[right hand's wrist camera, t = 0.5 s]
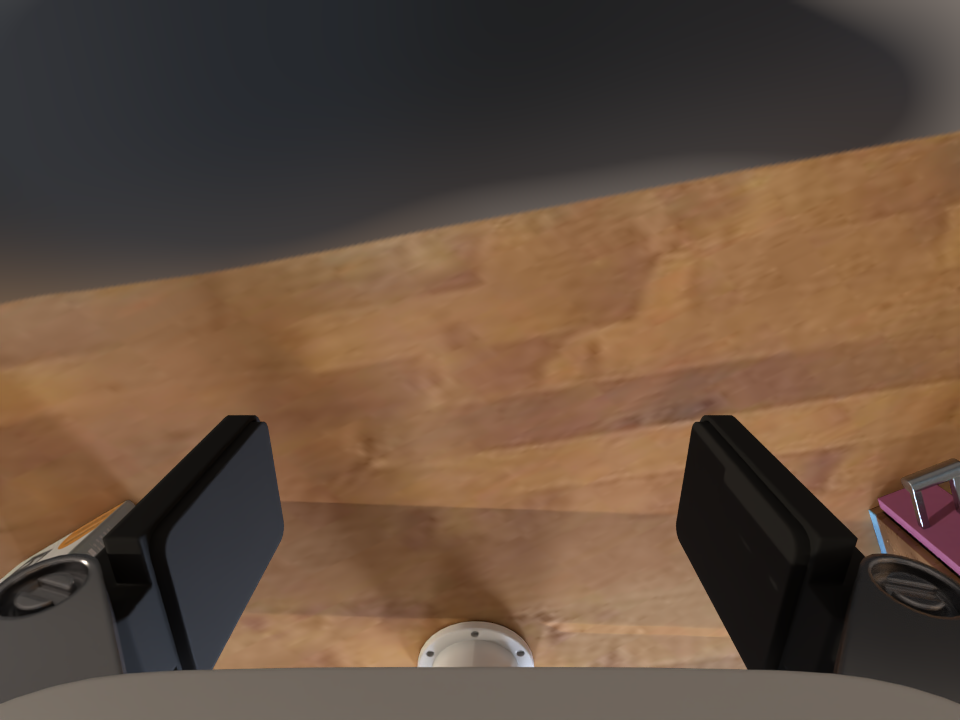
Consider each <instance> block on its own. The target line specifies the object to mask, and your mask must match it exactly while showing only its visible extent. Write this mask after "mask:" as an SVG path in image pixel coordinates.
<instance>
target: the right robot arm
mask: <svg viewBox="0 0 960 720" xmlns="http://www.w3.org/2000/svg"><path fill="white" fill-rule="evenodd" d="M283 531H284V521H283V515H282V509H281V503H280V497H279V491H278V485H277V479H276V473H275V467H274V461H273V455H272V449H271V443H270V436H269V430H268V426H267V424H266V423H265V422H260V420H259V418H258V417H257V416H256V415H228V416H227V417H225V418H224V419H223V420H222V421H221V422H220V423H219V424H218V425H217V426H216V427H215V428H214V429H213V430H212V431H211V432H210V433H209V434H208V435H207V436H206V437H205V438H204V439H203V440H202V441H201V442H200V443H199V444H198V445H197V446H196V447H195V448H194V449H193V450H192V451H191V452H190V453H189V454H188V455H187V456H185V457H184V458H183V459H182V460H181V461H180V462H179V463H178V464H177V465H176V466H175V467H174V468H173V469H172V470H171V471H170V472H169V473H168V474H167V475H166V476H165V477H164V478H163V479H162V480H161V481H160V482H159V483H158V484H157V485H156V486H155V487H154V488H153V489H152V490H151V491H150V492H149V493H148V494H147V495H146V496H145V497H144V498H143V499H142V500H141V501H140V502H139V503H138V504H137V505H136V506H135V507H134V508H133V509H132V510H131V511H130V512H129V513H128V514H127V515H126V516H125V517H124V518H123V519H122V520H121V521H119V522H118V523H117V524H116V525H115V526H114V527H113V528H112V529H111V530H110V531H109V532H108V533H107V534H106V535H105V536H104V537H103V538H102V539H103V542H104V545H105V547H104V548H103V549H102V550H101V551H100V552H99V553H98V554H97V555H96V556H95V557H93V556H91V555H88V554H78V553H73V554H66V555H59V556H56V557H52V558H49V559H45V560H42V561H40V562H37V563H35V564H33V565H30V566H28V567H26V568H24V569H22V570H20V571H18V572H17V573H15V574H13V575H12V576H10V577H8V578H7V579H5V580H4V581H3V582H2V583H0V720H960V583H958V582H957V581H956V580H955V579H953V578H952V577H950V576H948V575H947V574H945V573H943V572H942V571H940V570H938V569H936V568H934V567H932V566H930V565H927V564H925V563H923V562H920V561H918V560H915V559H911V558H908V557H904V556H901V555H894V554H887V553H882V554H872V555H869V556H867V557H865V556H864V555H863V554H862V553H861V552H860V551H859V550H858V549H857V548H856V547H855V545H856V542H857V539H858V538H857V537H856V536H855V535H854V534H853V533H852V532H851V531H850V530H849V529H848V528H847V527H846V526H845V525H844V524H843V523H842V522H841V521H839V520H838V519H837V518H836V517H835V516H834V515H833V514H832V513H831V512H830V511H829V510H828V509H827V508H826V507H825V506H824V505H823V504H822V503H821V502H820V501H819V500H818V499H817V498H816V497H815V496H814V495H813V494H812V493H811V492H810V491H809V490H808V489H807V488H806V487H805V486H804V485H803V484H802V483H801V482H800V481H799V480H798V479H797V478H796V477H795V476H794V475H793V474H792V473H791V472H790V471H789V470H788V469H787V468H786V467H785V466H784V465H783V464H782V463H781V462H780V461H779V460H778V459H777V458H776V457H775V456H773V455H772V454H771V453H770V452H769V451H768V450H767V449H766V448H765V447H764V446H763V445H762V444H761V443H760V442H759V441H758V440H757V439H756V438H755V437H754V436H753V435H752V434H751V433H750V432H749V431H748V430H747V429H746V428H745V427H744V426H743V425H742V424H741V423H740V422H739V421H738V420H737V419H736V418H735V417H733V416H732V415H704V416H703V417H702V418H701V420H700V422H695V423H694V424H693V426H692V430H691V436H690V443H689V449H688V455H687V461H686V467H685V473H684V479H683V485H682V491H681V497H680V503H679V509H678V515H677V521H676V531H677V536H678V539H679V541H680V543H681V545H682V547H683V549H684V551H685V553H686V555H687V556H688V558H689V560H690V562H691V564H692V566H693V568H694V570H695V571H696V573H697V575H698V577H699V579H700V581H701V583H702V585H703V587H704V588H705V590H706V592H707V594H708V596H709V598H710V600H711V602H712V603H713V605H714V607H715V609H716V611H717V613H718V615H719V617H720V618H721V620H722V622H723V624H724V626H725V628H726V630H727V632H728V633H729V635H730V637H731V639H732V641H733V643H734V645H735V647H736V649H737V650H738V652H739V654H740V656H741V658H742V660H743V662H744V664H745V665H746V667H747V669H748V670H740V669H691V668H615V667H534V662H533V656H532V652H531V650H530V648H529V646H528V645H527V643H526V642H525V641H524V640H523V639H522V638H521V637H520V636H519V635H517V634H516V633H515V632H513V631H511V630H510V629H508V628H506V627H503V626H500V625H497V624H494V623H489V622H481V621H470V622H461V623H458V624H454V625H450V626H448V627H446V628H444V629H441V630H440V631H438V632H437V633H435V634H434V635H432V636H431V637H430V638H429V639H428V640H427V641H426V643H425V644H424V646H423V647H422V649H421V651H420V654H419V658H418V666H417V667H345V668H269V669H220V670H212V669H213V667H214V665H215V664H216V662H217V660H218V658H219V656H220V654H221V652H222V650H223V649H224V647H225V645H226V643H227V641H228V639H229V637H230V635H231V633H232V632H233V630H234V628H235V626H236V624H237V622H238V620H239V618H240V617H241V615H242V613H243V611H244V609H245V607H246V605H247V603H248V602H249V600H250V598H251V596H252V594H253V592H254V590H255V588H256V587H257V585H258V583H259V581H260V579H261V577H262V575H263V573H264V571H265V570H266V568H267V566H268V564H269V562H270V560H271V558H272V556H273V555H274V553H275V551H276V549H277V547H278V545H279V543H280V541H281V539H282V536H283Z"/></svg>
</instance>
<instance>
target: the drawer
mask: <svg viewBox="0 0 960 720" xmlns="http://www.w3.org/2000/svg"><path fill="white" fill-rule="evenodd" d="M946 481H949V483H950V487H951V492H952V495H951V494H949V493H948V492H947V491H945V490H944V489H942V488H941V487H939V486H938V484H941V483H943V482H946ZM901 483H902V485H903V486H904V489H901V490H898V491H896V492H893V493H891V494H888V495H885V496H883V497H880V498H878V501H879V505H880V508H881V509H882V510H884V511H885V512H886V513H887V514H888V515H890V516H891V517H892V518H893V519H894V523H896V524H897V525H898V526H899V527H900V528H901V529H903V530H904V531H905V532H906V533H907V534H908V535H910V536H911V537H912V538H913V539H914V540H915V541H917V542H918V543H919V544H920V545H921V546H922V547H923V548H925V549H926V550H927V551H928V552H929V553H930V554H932V555H933V556H934V557H935V558H936V559H937V560H939V561H940V562H941V563H942V564H943V565H944V566H946V567H947V568H948V569H949V570H950V571H951V572H953V573H954V574H955V575H956V576H957V577H958V578H960V462H959V461H958V460H957V459H949V460H947V461H944V462H942V463H939V464H936V465H934V466H931V467H929V468H926V469H924V470H921V471H918V472H916V473H913V474H911V475H908V476H905V477H903V478H901Z"/></svg>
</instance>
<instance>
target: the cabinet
mask: <svg viewBox="0 0 960 720" xmlns="http://www.w3.org/2000/svg"><path fill="white" fill-rule="evenodd" d="M869 513H870V516H871V520H872V523H873V526H874V529H875V533H876V536H877V539H878V542H879V546H880V549H881V552H882V553H887V554H894V555H901V556H904V557H908V558H911V559H915V560H918V561H920V562H923V563H925V564H927V565H930V566H932V567H934V568H936V569H938V570H940V571H942V572H943V573H945V574H947V575H948V576H950V577H952V578H953V579H955V580H956V581H957V582H958V583H960V578H958V577H957V576H956V575H955V574H954V573H953V572H951V571H950V570H949V569H948V568H947V567H946V566H944V565H943V564H942V563H941V562H940V561H939V560H937V559H936V558H935V557H934V556H933V555H932V554H930V553H929V552H928V551H927V550H926V549H925V548H923V547H922V546H921V545H920V544H919V543H918V542H917V541H915V540H914V539H913V538H912V537H911V536H910V535H908V534H907V533H906V532H905V531H904V530H903V529H901V528H900V527H899V526H898V525H897V524H896V523H894V519H893V518H892V517H891V516H890V515H888V514H887V513H886V512H885V511H884V510H882V509H881V508H880V506H878V507H876V508H873V509H870V510H869Z"/></svg>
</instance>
